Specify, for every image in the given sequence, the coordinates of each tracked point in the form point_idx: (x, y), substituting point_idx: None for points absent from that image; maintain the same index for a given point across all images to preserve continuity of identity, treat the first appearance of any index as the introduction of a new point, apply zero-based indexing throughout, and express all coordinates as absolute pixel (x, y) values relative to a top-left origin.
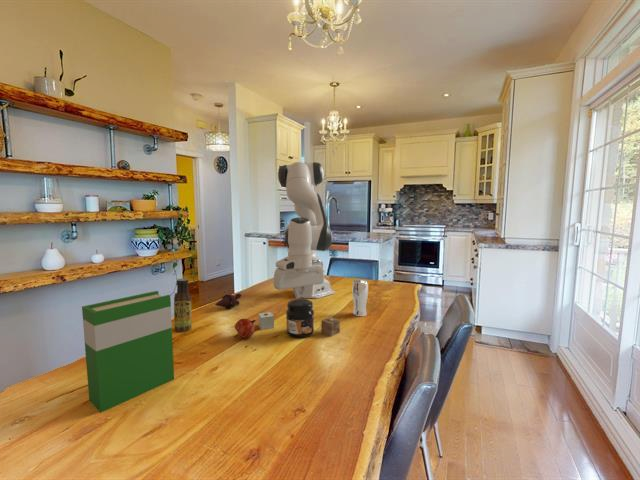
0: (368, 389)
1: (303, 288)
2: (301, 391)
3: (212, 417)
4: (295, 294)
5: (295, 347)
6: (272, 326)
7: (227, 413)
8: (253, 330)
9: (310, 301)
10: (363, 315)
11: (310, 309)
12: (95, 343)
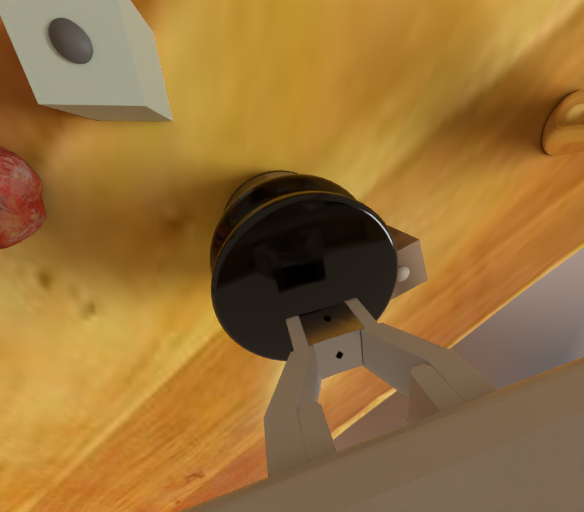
0: None
1: (407, 415)
2: (207, 449)
3: (43, 494)
4: (292, 343)
5: None
6: (160, 120)
7: (70, 487)
8: (32, 229)
9: (387, 288)
10: (557, 155)
11: None
12: None
